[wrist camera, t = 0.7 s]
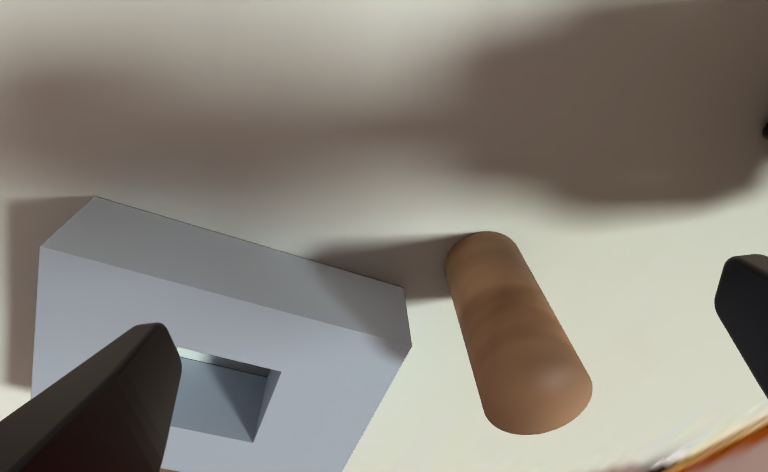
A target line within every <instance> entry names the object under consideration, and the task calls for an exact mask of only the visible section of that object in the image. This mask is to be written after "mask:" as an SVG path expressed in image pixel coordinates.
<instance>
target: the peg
mask: <svg viewBox="0 0 768 472" xmlns="http://www.w3.org/2000/svg"><path fill="white" fill-rule="evenodd" d="M445 275H446V278H447V282H448V285H449V289H450V292H451V296H452V300H453V303H454V307H455V310H456V314H457V317H458V321H459V324H460V328H461V331H462V335H463V339H464V342H465V346H466V349H467V353H468V356H469V360H470V363H471V367H472V371H473V374H474V378H475V381H476V385H477V388H478V392H479V395H480V399H481V403H482V406H483V410H484V413H485V415H486V417H487V419H488V420H489V421H490V422H491V423H492V424H493V425H494V426H495V427H497V428H499V429H500V430H503V431H505V432H508V433H512V434H519V435H533V434H540V433H545V432H549V431H552V430H555V429H557V428H560V427H562V426H564V425H566V424H567V423H569V422H571V421H572V420H573V419H575V418H576V417H577V416H578V415H579V414H580V413H581V412H582V411H583V410H584V409H585V408H586V406H587V405H588V403H589V401H590V398H591V395H592V382H591V379H590V377H589V375H588V373H587V371H586V370H585V368H584V366H583V364H582V362H581V361H580V359H579V357H578V355H577V353H576V352H575V350H574V348H573V346H572V344H571V343H570V341H569V339H568V337H567V335H566V334H565V332H564V330H563V328H562V326H561V325H560V323H559V321H558V319H557V317H556V316H555V314H554V312H553V310H552V308H551V307H550V305H549V303H548V301H547V299H546V298H545V296H544V294H543V292H542V290H541V289H540V287H539V285H538V283H537V281H536V280H535V278H534V276H533V274H532V272H531V271H530V269H529V267H528V265H527V263H526V262H525V260H524V258H523V256H522V255H521V253H520V251H519V249H518V247H517V246H516V244H515V243H514V242H513V241H512V240H511V239H510V238H509V237H507V236H505V235H503V234H500V233H497V232H478V233H474V234H471V235H469V236H467V237H465V238H463V239H461V240H460V241H459V242H457V243H456V244H455V245H454V246H453V247H452V249H451V250H450V252H449V253H448V255H447V257H446V261H445Z"/></svg>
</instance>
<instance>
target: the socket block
mask: <svg viewBox="0 0 768 472" xmlns="http://www.w3.org/2000/svg"><path fill="white" fill-rule="evenodd" d="M156 322H159V323H162V324H164V325H165V326H166V328H167V329H168V331H169V334H170V336H171V338H172V340H173V342H174V345H175V347H176V349H177V347H180V348H185V349H189V350H193V351H197V352H201V353H206V354H210V355H214V356H218V357H222V358H226V359H231V360H235V361H239V362H243V363H247V364H252V365H256V366H260V367H264V368H268V369H270V371H269V374H268V377H263V376H258V375H254V374H250V373H246V372H241V371H237V370H233V369H229V368H224V367H220V366H216V365H211V364H207V363H203V362H199V361H194V360H190V359H186V358H182V357H180V358H181V362H182V374H181V379H180V384H179V388H178V393H177V398H176V402H175V407H174V412H173V417H172V421H171V426H170V431H169V435H168V440H167V445H166V449H165V453H164V457H163V461H162V464H161V468H163V469H169V470H175V471H180V472H342V471H343V469H344V467H345V465H346V463H347V462H348V460H349V458H350V456H351V454H352V453H353V451H354V449H355V447H356V445H357V444H358V442H359V440H360V438H361V436H362V435H363V433H364V431H365V429H366V428H367V426H368V424H369V422H370V420H371V419H372V417H373V415H374V413H375V411H376V410H377V408H378V406H379V404H380V402H381V401H382V399H383V397H384V395H385V394H386V392H387V390H388V388H389V386H390V385H391V383H392V381H393V379H394V377H395V376H396V374H397V372H398V370H399V368H400V367H401V365H402V363H403V361H404V359H405V358H406V356H407V354H408V352H409V351H410V349H411V347H412V343H411V336H410V329H409V322H408V315H407V308H406V301H405V294H404V288H402V287H399V286H395V285H392V284H388V283H385V282H382V281H378V280H375V279H372V278H368V277H365V276H362V275H358V274H355V273H351V272H348V271H345V270H341V269H338V268H335V267H331V266H328V265H324V264H321V263H318V262H314V261H311V260H308V259H304V258H301V257H298V256H294V255H291V254H287V253H284V252H281V251H277V250H274V249H271V248H267V247H264V246H260V245H257V244H254V243H250V242H247V241H244V240H240V239H237V238H234V237H230V236H227V235H223V234H220V233H217V232H213V231H210V230H207V229H203V228H200V227H196V226H193V225H190V224H186V223H183V222H180V221H176V220H173V219H170V218H166V217H163V216H159V215H156V214H153V213H149V212H146V211H143V210H139V209H136V208H132V207H129V206H126V205H122V204H119V203H116V202H112V201H109V200H106V199H102V198H99V197H95V196H94V197H93V198H92V199H91V200H90V201H89V202H88V203H87V204H85V205H84V206H83V207H82V208H81V209H80V210H79V211H78V212H77V213H76V214H74V215H73V216H72V217H71V218H70V219H69V220H68V221H67V222H66V223H65V224H64V225H62V226H61V227H60V228H59V229H58V230H57V231H56V232H55V233H54V234H53V235H52V236H50V237H49V238H48V239H47V240H46V241H45V242H44V243H43V244H42V245H41V246H40V251H39V268H38V285H37V302H36V319H35V336H34V352H33V369H32V386H31V399H32V398H34V397H35V396H37V395H38V394H39V393H41V392H42V391H44V390H45V389H46V388H48V387H49V386H51V385H52V384H53V383H55V382H56V381H58V380H59V379H61V378H62V377H63V376H65V375H66V374H68V373H69V372H70V371H72V370H73V369H75V368H76V367H77V366H79V365H80V364H82V363H83V362H84V361H86V360H87V359H89V358H90V357H91V356H93V355H94V354H96V353H97V352H98V351H100V350H101V349H103V348H104V347H105V346H107V345H108V344H110V343H111V342H112V341H114V340H115V339H117V338H118V337H119V336H121V335H122V334H124V333H125V332H126V331H128V330H129V329H131V328H132V327H134V326H136V325H139V324H147V323H156Z"/></svg>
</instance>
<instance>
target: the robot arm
mask: <svg viewBox="0 0 768 472" xmlns="http://www.w3.org/2000/svg"><path fill="white" fill-rule="evenodd" d="M763 137H764V138H765V139H766V140H768V123H767V124H766V126H765V127H764V129H763ZM715 309H716V312H717V314H718V316H719V318H720V320H721V321H722V323H723V325H724V326H725V328H726V330H727V331H728V333H729V335H730V337H731V338H732V340H733V342H734V343H735V345H736V347H737V348H738V350H739V352H740V353H741V355H742V357H743V359H744V360H745V362H746V364H747V365H748V367H749V369H750V370H751V372H752V374H753V375H754V377H755V379H756V381H757V382H758V384H759V386H760V387H761V389H762V390H763V392H764V393H765V395H766V397H767V398H768V257H767V256H764V255H760V254H751V255H742V256H734V257H731V258H729V259H728V260H727V261H726V262H725V264H724V267H723V271H722V274H721V278H720V281H719V285H718V288H717V292H716V295H715ZM181 374H182V362H181V358H180V356H179V353H178V351H177V349H176V347H175V345H174V342H173V340H172V338H171V336H170V334H169V331H168V329H167V328H166V326H165V325H164V324H162V323H159V322H156V323H147V324H139V325H136V326H134V327H132V328H131V329H129V330H128V331H126V332H125V333H124V334H122V335H121V336H119V337H118V338H117V339H115V340H114V341H112V342H111V343H110V344H108V345H107V346H105V347H104V348H103V349H101V350H100V351H98V352H97V353H96V354H94V355H93V356H91V357H90V358H89V359H87V360H86V361H84V362H83V363H82V364H80V365H79V366H77V367H76V368H75V369H73V370H72V371H70V372H69V373H68V374H66V375H65V376H63V377H62V378H61V379H59V380H58V381H56V382H55V383H53V384H52V385H51V386H49V387H48V388H46V389H45V390H44V391H42V392H41V393H39V394H38V395H37V396H35V397H34V398H32V399H31V400H30V401H28V402H27V403H25V404H24V405H23V406H21V407H20V408H18V409H17V410H16V411H14V412H13V413H11V414H10V415H9V416H7V417H6V418H4V419H3V420H2V421H0V472H159V471H160V468H161V464H162V461H163V457H164V453H165V449H166V445H167V440H168V435H169V431H170V426H171V421H172V417H173V412H174V407H175V402H176V398H177V393H178V388H179V384H180V379H181Z"/></svg>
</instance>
